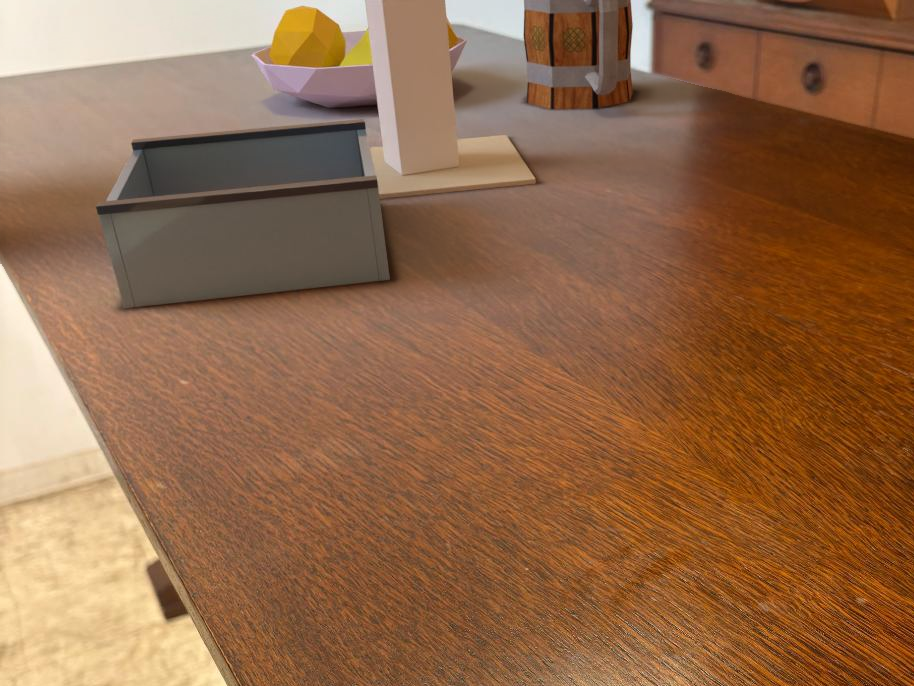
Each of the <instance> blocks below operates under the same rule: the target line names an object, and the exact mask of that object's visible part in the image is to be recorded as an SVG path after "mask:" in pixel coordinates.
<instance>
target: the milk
mask: <svg viewBox="0 0 914 686" xmlns="http://www.w3.org/2000/svg"><path fill="white" fill-rule="evenodd" d="M364 4H365V6H364V7H365V13H366V20H367V21H366V22H367V28H368V30H369V39H370V47H371V55H372V63H373V71H374V79H375V88H376V96H377V104H378V105H377V110H378V119H379V128H380V136H381V137H380V138H381V145H382V146H383V153H384V161H385V162H386V163H387V164H388V165H389V166H391V167H392V168H393V169H395V170H396V171H397V172H398V173H400V174H401V175H409V174H415V173H422V172H428V171H434V170H441V169H447V168H453V167H458V166H459V157H458V146H457V139H458V135H457V123H456V113H455V101H454V100H455V99H454V90H453V89H454V88H453V77H452V74H451V63H450V52H449V40H448V28H447V19H448V17H447V7H446V0H364Z"/></svg>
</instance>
